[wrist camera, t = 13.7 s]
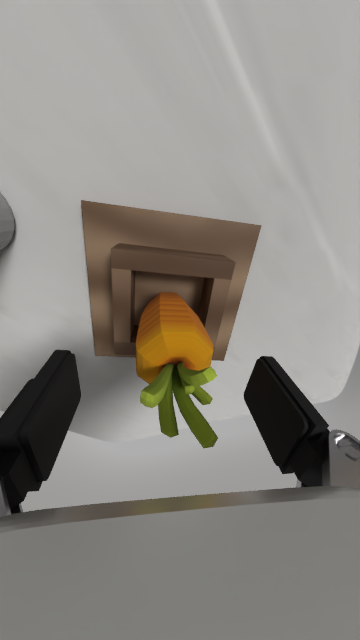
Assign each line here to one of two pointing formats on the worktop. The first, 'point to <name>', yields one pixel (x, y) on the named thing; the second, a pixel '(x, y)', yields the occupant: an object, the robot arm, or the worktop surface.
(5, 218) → the coffee cup
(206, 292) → the walnut stand
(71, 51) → the worktop surface
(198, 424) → the carrot
